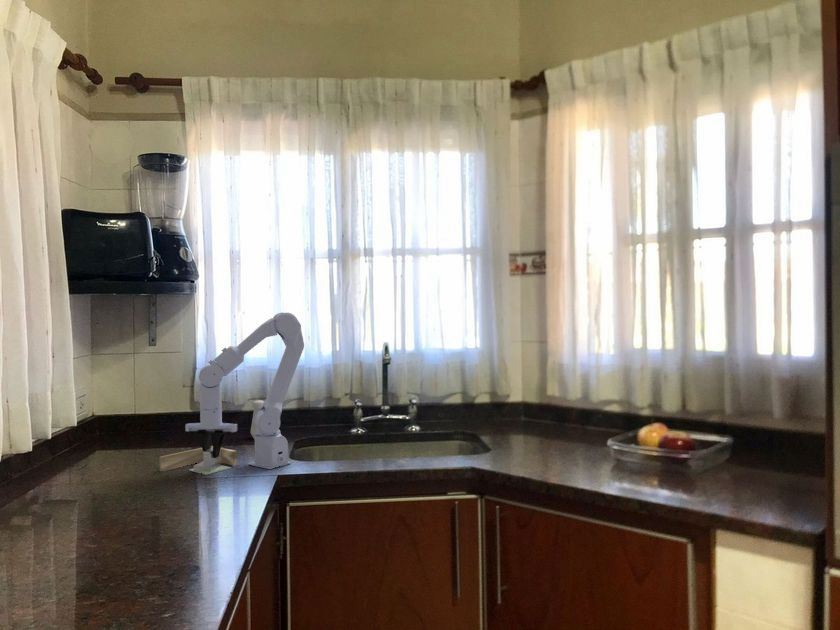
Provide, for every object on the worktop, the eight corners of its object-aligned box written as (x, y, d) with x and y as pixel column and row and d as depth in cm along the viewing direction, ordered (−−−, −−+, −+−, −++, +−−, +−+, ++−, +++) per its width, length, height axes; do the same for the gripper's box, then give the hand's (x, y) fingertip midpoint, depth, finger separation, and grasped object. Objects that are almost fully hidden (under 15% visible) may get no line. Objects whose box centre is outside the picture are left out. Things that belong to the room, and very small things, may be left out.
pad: (231, 468, 176) (230, 467, 176) (205, 474, 170) (205, 473, 170) (214, 464, 181) (214, 463, 181) (189, 470, 174) (189, 469, 174)
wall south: (237, 464, 180) (237, 450, 180) (233, 465, 179) (233, 451, 179) (212, 459, 187) (212, 445, 187) (209, 459, 186) (208, 446, 186)
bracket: (210, 471, 172) (210, 451, 172) (193, 471, 172) (193, 451, 172) (220, 466, 178) (220, 446, 177) (204, 465, 178) (204, 446, 178)
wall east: (212, 459, 186) (211, 446, 186) (162, 471, 174) (161, 457, 174) (209, 459, 187) (209, 445, 187) (159, 471, 174) (159, 456, 174)
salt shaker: (265, 439, 214) (264, 401, 214) (248, 439, 214) (247, 402, 214) (269, 436, 220) (269, 399, 220) (253, 436, 220) (252, 399, 220)
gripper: (241, 406, 177) (242, 454, 177) (194, 406, 179) (195, 453, 180) (230, 410, 170) (231, 460, 170) (181, 410, 172) (182, 459, 173)
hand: (211, 457), depth 175 cm, fingers closed on bracket, 2 cm apart
